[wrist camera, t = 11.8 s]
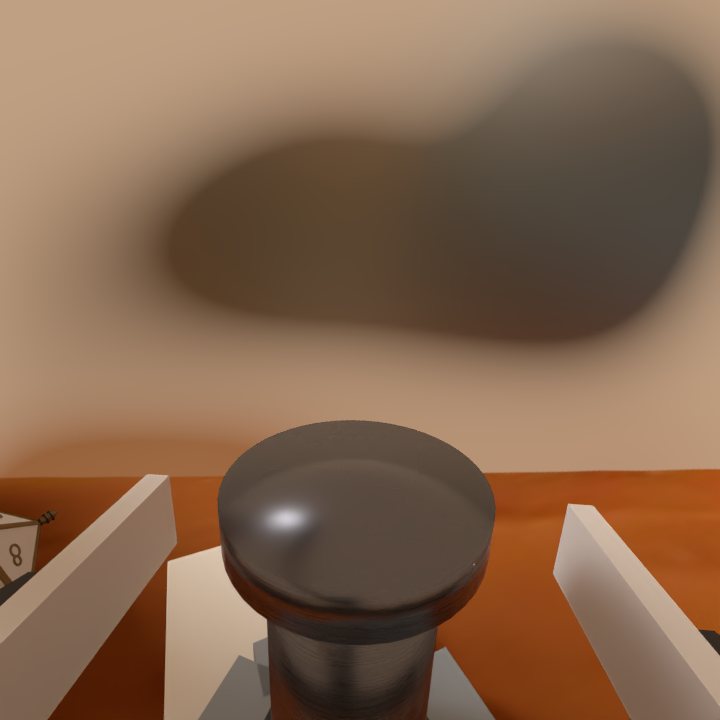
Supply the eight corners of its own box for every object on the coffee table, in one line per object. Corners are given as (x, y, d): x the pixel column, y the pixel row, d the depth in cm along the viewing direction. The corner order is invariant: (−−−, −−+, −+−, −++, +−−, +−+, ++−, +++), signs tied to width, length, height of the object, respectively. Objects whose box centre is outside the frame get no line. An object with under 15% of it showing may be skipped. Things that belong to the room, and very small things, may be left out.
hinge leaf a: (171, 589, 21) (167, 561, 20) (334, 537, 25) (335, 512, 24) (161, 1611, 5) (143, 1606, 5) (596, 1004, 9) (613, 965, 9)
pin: (238, 801, 13) (206, 441, 9) (377, 719, 15) (399, 408, 11) (277, 1136, 8) (243, 661, 4) (472, 937, 10) (563, 523, 7)
